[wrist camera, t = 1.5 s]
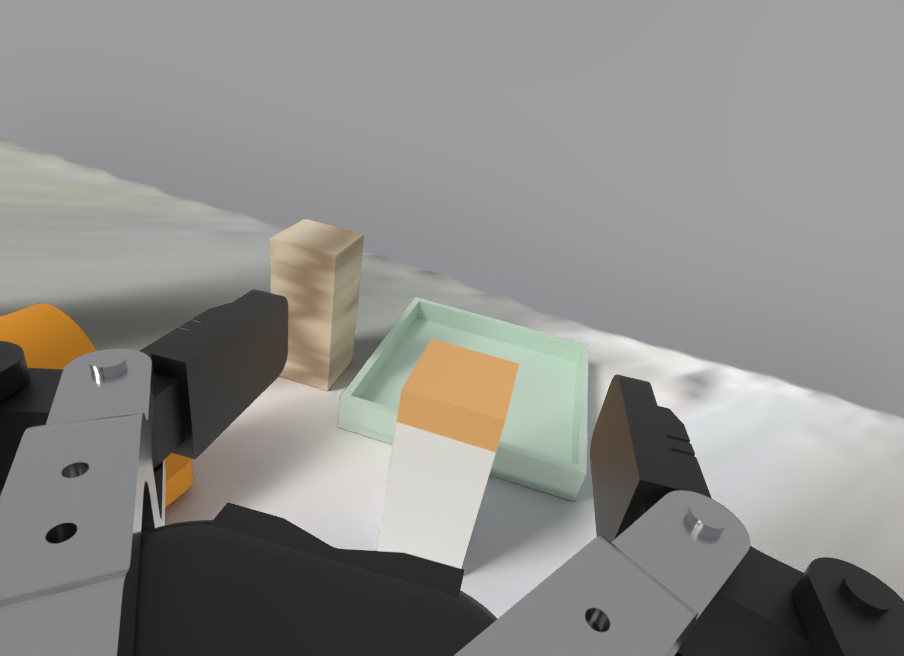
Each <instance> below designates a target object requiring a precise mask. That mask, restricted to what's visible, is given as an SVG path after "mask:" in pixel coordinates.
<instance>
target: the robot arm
mask: <svg viewBox="0 0 904 656" xmlns="http://www.w3.org/2000/svg"><path fill="white" fill-rule="evenodd" d="M287 356H288V301H287V299H286V297H284V296H281V295H277V294H273V293H268V292H264V291H260V290H252V291H250V292H249V293H247V294H245V295H244V296H242V297H241V298H239V299H237V300H236V301H234V302H233V303H231V304H230V303H229V304H225V305H222V306H219V307H215V308H212V309H208V310H207V311H205V312H203V313H202V314H200V315H198V316H197V317H195V318H193V321H188V322H187V323H185V324H184V325H182V326H180V329H178V328H177V329H175V330H174V331H172V332H170V333H169V334H167V335H165V336H164V337H162V338H160V339H159V340H157V341H155V342H154V343H152V344H150V345H149V346H147V347H145V348H144V349H142V350H140V351H137V350H133V349H120V348H119V349H105V350H100V351H95V352H91V353H88V354H85V355H83V356H80V357H78V358H76V359H74V360H73V361H71V362H70V363H69V364H68V365H67V366H66V367H65V368H64V369H44V368H28V367H27V363H26V359H25V355H24V351H23V349H22V348H21V347H20V346H19V345H17V344H15V343H11V342H6V341H0V656H904V601H903V599H902V598H901V597H900V596H899V595H898V594H897V593H896V592H894V591H893V590H892V589H891V588H890V587H889V586H887V585H886V584H885V583H883V582H882V581H881V580H879V579H878V578H877V577H875V576H873V575H872V574H870V573H869V572H867V571H865V570H863V569H861V568H860V567H857V566H855V565H853V564H851V563H848V562H845V561H842V560H839V559H835V558H827V557H826V558H818V559H815V560H814V561H812V562H811V564H810V565H809V566H808V568H807V569H806V571H805V572H804V573H803V572H800V571H798V570H796V569H794V568H792V567H790V566H788V565H786V564H784V563H782V562H780V561H778V560H776V559H774V558H772V557H770V556H768V555H766V554H764V553H762V552H760V551H758V550H756V549H755V548H753V547H752V546H750V538H749V535H748V532H747V530H746V529H745V527H744V525H743V524H742V523H741V521H740V520H739V519H738V518H737V517H736V516H735V515H734V514H733V513H732V512H731V511H730V510H728V509H727V508H726V507H724V506H723V505H722V504H720V503H718V502H717V501H715V500H713V499H712V498H711V496H710V493H709V490H708V488H707V485H706V482H705V480H704V477H703V474H702V472H701V469H700V466H699V464H698V461H697V458H696V457H694V455H695V453H694V450H693V448H692V445H691V444H690V443H689V442H690V440H689V437H688V434H687V432H686V429H685V426H684V424H683V423H682V422H681V421H680V420H679V419H678V418H677V417H676V416H675V414H674V413H673V412H672V411H671V410H670V409H668V408H664V407H660V406H657V403H656V400H655V396H654V393H653V390H652V387H651V384H650V383H649V382H647V381H643V380H638V379H634V378H630V377H625V376H621V375H615V376H614V377H613V379H612V381H611V384H610V386H609V389H608V392H607V395H606V398H605V400H604V403H603V406H602V409H601V412H600V415H599V417H598V420H597V423H596V426H595V429H594V432H593V436H592V441H591V449H590V459H591V471H592V483H593V496H594V508H595V520H596V532H597V538H595V539H594V540H592V541H591V542H590V543H589V544H587V545H586V546H585V547H584V548H583V549H581V550H580V551H579V552H578V553H577V554H575V555H574V556H573V557H572V558H571V559H569V560H568V561H567V562H566V563H565V564H563V565H562V566H561V567H560V568H559V569H557V570H556V571H555V572H554V573H553V574H551V575H550V576H549V577H548V578H547V579H545V580H544V581H543V582H542V583H540V584H539V585H538V586H537V587H536V588H534V589H533V590H532V591H531V592H530V593H528V594H527V595H526V596H525V597H524V598H522V599H521V600H520V601H519V602H518V603H516V604H515V605H514V606H513V607H512V608H510V609H509V610H508V611H507V612H506V613H504V614H503V615H502V616H501V617H500V618H498V619H497V618H496V617H495V616H494V615H493V614H492V613H491V612H490V611H489V610H488V609H487V608H485V607H484V606H483V605H482V604H480V603H479V602H478V601H476V600H475V599H474V598H472V597H471V596H469V595H467V594H466V593H464V592H462V591H461V590H460V589H461V584H462V579H463V574H464V570H463V569H460V568H456V567H453V566H449V565H446V564H442V563H439V562H435V561H432V560H428V559H425V558H421V557H418V556H414V555H411V554H407V553H402V552H383V551H365V550H346V549H338V548H334V547H332V546H330V545H328V544H327V543H325V542H323V541H321V540H320V539H318V538H316V537H315V536H313V535H311V534H309V533H308V532H306V531H304V530H303V529H301V528H299V527H297V526H296V525H294V524H292V523H291V522H289V521H287V520H285V519H284V518H280V517H277V516H273V515H270V514H266V513H263V512H259V511H256V510H252V509H249V508H245V507H242V506H238V505H235V504H231V503H227V504H226V505H225V506H224V508H223V509H222V510H221V511H220V512H219V514H218V515H217V516H216V517H215V519H214V520H201V521H188V522H180V523H174V524H170V525H165V481H166V470H165V462H164V460H165V459H166V458H167V457H168V456H169V455H170V454H171V453H174V454H178V455H181V456H185V457H188V458H192V459H196V458H197V457H198V456H199V455H200V454H201V453H202V452H203V451H204V450H205V449H206V448H207V447H208V446H209V445H210V444H211V443H212V442H213V441H214V440H215V439H216V438H217V437H218V436H219V435H220V434H221V433H222V432H223V431H224V430H225V429H226V428H227V427H228V426H229V425H230V424H231V423H232V422H233V421H234V420H235V419H236V418H237V417H238V416H239V415H240V414H241V413H242V412H243V411H244V410H245V409H246V408H247V407H248V406H249V405H250V404H251V403H252V402H253V401H254V400H255V399H256V398H257V397H258V396H259V395H260V394H261V393H262V392H264V391H265V390H266V389H267V388H268V387H269V386H270V385H271V384H272V383H273V382H274V381H275V380H276V379H277V378H278V377H279V375H280V374H281V373H282V371H283V369H284V367H285V364H286V361H287Z"/></svg>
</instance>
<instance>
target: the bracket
mask: <svg viewBox="0 0 904 656" xmlns="http://www.w3.org/2000/svg"><path fill="white" fill-rule="evenodd" d="M0 341H6V342H11V343H15V344H17V345H19V346H20V347H21V348H22V349H23V351H24V355H25V359H26V363H27V367H28V368H44V369H64V368H65V367H66V366H67V365H68V364H69V363H70V362H71V361H73V360H74V359H76V358H78V357H80V356H83V355H85V354H88V353H91V352H95V351H96V349H95V348H94V346H93V344H92V343H91V341H90V340H89V338H88V337H87V335H86V334H85V333H84V331H83V330H82V329H81V328H80V327H79V326H78V325H77V323H76V322H75V321H73V320H72V319H71V318H70V317H69V316H68V315H67V314H65V313H64V312H63V311H61V310H59V309H58V308H56V307H54V306H51V305H48V304H43V303H42V304H36V305H33V306H30V307H27V308H24V309H21V310H18V311H15V312H13V313H10V314H7V315H4V316H1V317H0ZM164 462H165V470H166V481H165V508H166V507H167V506H168V505H169V504H171V503H172V502H173V501H174V500H176V499H177V498H178V497H179V496H181V495H182V494H183V493H184V492H185V491H187V490H188V489H189V488H190V487H191V485H192V483H193V472H192V464H191V458H188V457H185V456H181V455H178V454H174V453H171V454H170V455H169V456H168V457H167V458H166V459H165V460H164Z"/></svg>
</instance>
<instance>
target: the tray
mask: <svg viewBox="0 0 904 656" xmlns="http://www.w3.org/2000/svg"><path fill="white" fill-rule="evenodd" d="M431 339H434V340H438V341H442V342H445V343H449V344H452V345H456V346H459V347H463V348H466V349H470V350H473V351H477V352H480V353H484V354H487V355H491V356H494V357H498V358H501V359H505V360H508V361H512V362H515V363H519V367H518V371H517V375H516V379H515V383H514V387H513V391H512V396H511V400H510V404H509V408H508V412H507V416H506V420H505V424H504V427H503V430H502V434H501V437H500V441H499V444H498V447H497V451H496V454H495V457H494V461H493V464H492V467H491V471H490V474H489V475H491V476H494V477H497V478H500V479H504V480H507V481H510V482H513V483H516V484H519V485H523V486H526V487H529V488H532V489H535V490H538V491H542V492H545V493H548V494H551V495H554V496H557V497H561V498H564V499H567V500H570V501H573V502H575V500H576V498H577V495H578V493H579V491H580V488H581V486H582V484H583V482H584V479H585V477H586V475H587V425H588V347H589V345H588V344H585V343H581V342H577V341H574V340H570V339H566V338H563V337H559V336H556V335H552V334H548V333H545V332H541V331H537V330H534V329H530V328H526V327H523V326H519V325H515V324H512V323H508V322H505V321H501V320H497V319H494V318H490V317H486V316H483V315H479V314H475V313H472V312H468V311H464V310H461V309H457V308H454V307H450V306H446V305H443V304H439V303H435V302H432V301H428V300H424V299H421V298H417V297H415V298H414V299H413V301H412V302H411V303H410V305H409V306H408V307H407V309H406V310H405V311H404V313H403V314H402V315H401V317H400V318H399V319H398V321H397V322H396V323H395V325H394V326H393V327H392V329H391V330H390V331H389V333H388V334H387V335H386V337H385V338H384V339H383V341H382V342H381V343H380V345H379V346H378V347H377V349H376V350H375V351H374V353H373V354H372V355H371V357H370V358H369V359H368V361H367V362H366V363H365V365H364V366H363V367H362V368H361V370H360V371H359V372H358V374H357V375H356V376H355V378H354V379H353V380H352V382H351V383H350V384H349V386H348V387H347V388H346V390H345V391H344V392H343V394H342V395H341V396H340V398H339V410H338V423H337V427H339V428H342V429H345V430H348V431H351V432H355V433H358V434H361V435H364V436H367V437H370V438H374V439H377V440H380V441H383V442H386V443H389V444H393V441H394V435H395V428H396V422H397V416H398V409H399V403H400V396H401V390H402V388H403V386H404V384H405V383H406V381H407V379H408V377H409V376H410V374H411V372H412V371H413V369H414V367H415V365H416V364H417V362H418V360H419V359H420V357H421V355H422V353H423V352H424V350H425V348H426V346H427V345H428V343H429V341H430V340H431Z"/></svg>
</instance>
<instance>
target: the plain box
mask: <svg viewBox="0 0 904 656" xmlns="http://www.w3.org/2000/svg"><path fill="white" fill-rule="evenodd" d="M363 239H364V234H360V233H356V232H353V231H349V230H345V229H341V228H338V227H334V226H330V225H326V224H322V223H319V222H314V221H311V220H307V219H304V220H302V221H300V222H299V223H297V224H295V225H294V226H291V227H290V228H288V229H286V230H284V231H282V232H280V233H278V234H277V235H275V236H273V237H271V238H270V263H271V293H273V294H277V295H281V296H284V297H286V299H287V301H288V356H287V361H286V364H285V367H284V369H283V371H282V373H281V374H280V375H279V377H282V378H285V379H289V380H292V381H295V382H298V383H302V384H305V385H308V386H311V387H315V388H318V389H321V390H324V391H328V390H329V389H330V388H331V386H332V385H333V384H334V383H335V381H336V380H337V379H338V378H339V376H340V375H341V374H342V373H343V372H344V370H345V369H346V368H347V367H348V365H349V364H350V363H351V362H352V360H353V351H354V340H355V329H356V318H357V306H358V295H359V284H360V273H361V262H362V250H363Z"/></svg>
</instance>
